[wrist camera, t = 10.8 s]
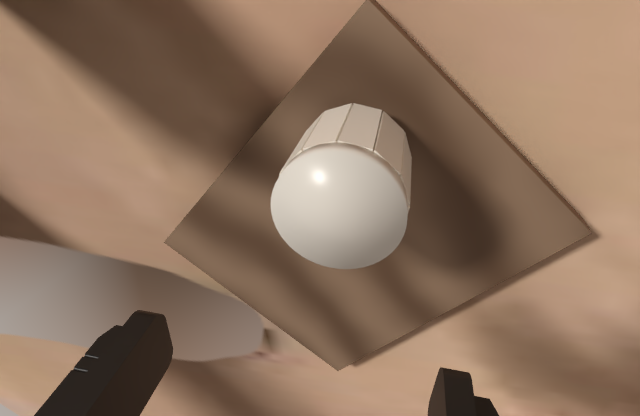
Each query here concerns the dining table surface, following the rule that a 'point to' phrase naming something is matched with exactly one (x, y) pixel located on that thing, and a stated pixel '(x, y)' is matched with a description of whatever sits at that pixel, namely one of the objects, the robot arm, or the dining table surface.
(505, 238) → the post board
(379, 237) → the cap
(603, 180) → the dining table surface
